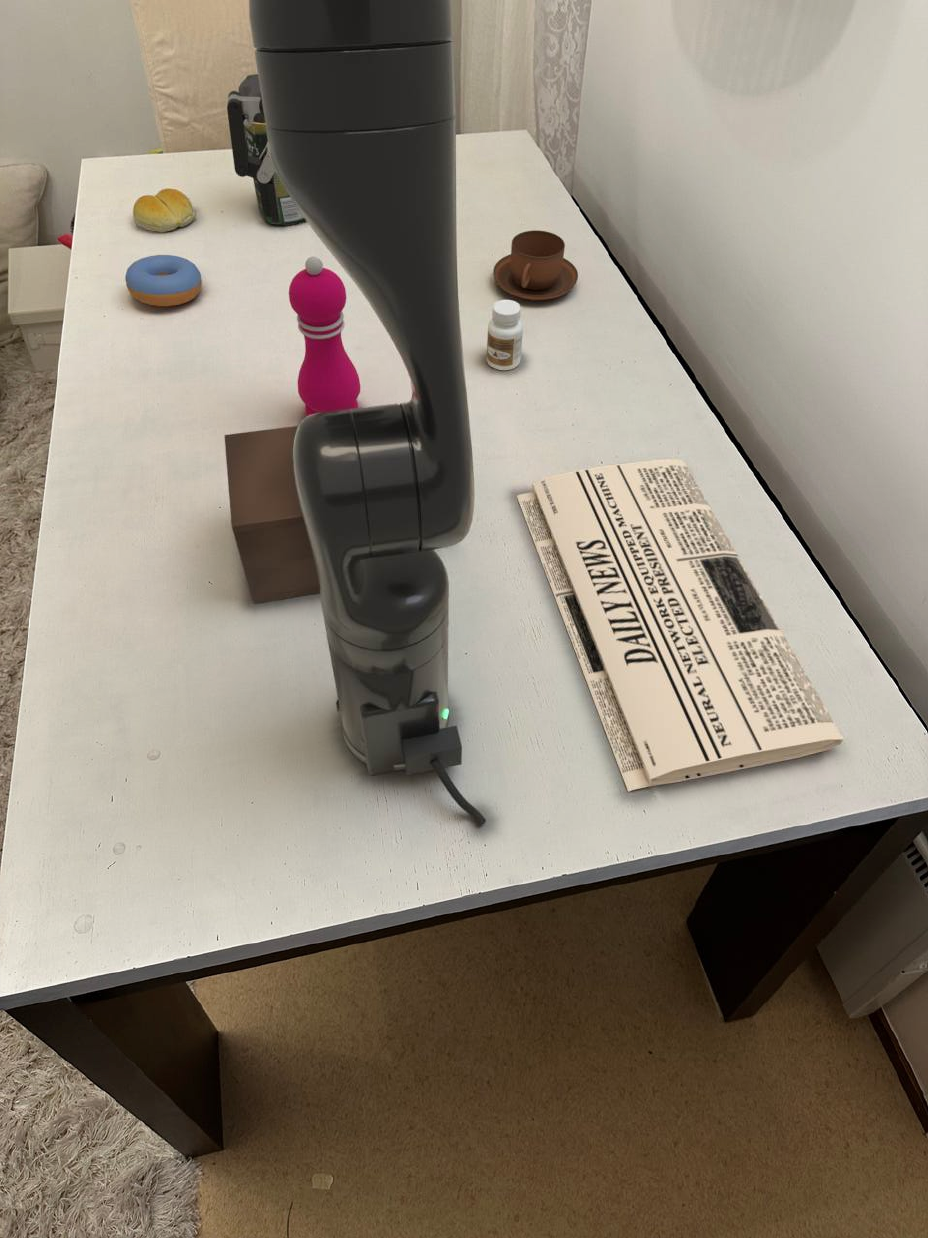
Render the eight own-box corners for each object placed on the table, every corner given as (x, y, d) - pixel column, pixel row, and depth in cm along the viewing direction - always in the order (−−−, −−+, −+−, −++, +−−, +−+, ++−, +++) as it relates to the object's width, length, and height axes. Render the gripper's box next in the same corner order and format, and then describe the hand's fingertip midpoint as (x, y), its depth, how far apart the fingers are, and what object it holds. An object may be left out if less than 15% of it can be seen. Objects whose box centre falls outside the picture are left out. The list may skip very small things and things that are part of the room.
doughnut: (188, 269, 121) (181, 238, 118) (216, 302, 116) (209, 270, 113) (121, 288, 118) (111, 257, 114) (146, 323, 113) (136, 291, 109)
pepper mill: (353, 440, 99) (336, 280, 83) (294, 431, 100) (266, 271, 84) (370, 402, 103) (357, 244, 88) (313, 394, 104) (290, 236, 88)
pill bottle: (480, 365, 108) (482, 310, 102) (495, 347, 111) (498, 293, 105) (511, 375, 107) (515, 320, 101) (525, 357, 110) (530, 303, 104)
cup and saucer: (579, 309, 117) (584, 267, 112) (492, 306, 117) (494, 264, 112) (573, 264, 124) (579, 223, 120) (492, 262, 124) (494, 220, 120)
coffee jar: (253, 202, 134) (230, 70, 120) (302, 195, 136) (285, 64, 122) (266, 230, 129) (244, 96, 114) (316, 223, 131) (301, 89, 116)
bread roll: (127, 217, 131) (120, 191, 128) (182, 202, 134) (176, 176, 131) (148, 239, 127) (141, 213, 123) (204, 223, 130) (198, 197, 127)
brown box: (380, 495, 93) (374, 415, 85) (400, 580, 85) (396, 502, 77) (244, 514, 91) (224, 434, 82) (252, 603, 83) (231, 526, 75)
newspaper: (836, 750, 74) (848, 734, 72) (628, 792, 71) (633, 776, 69) (680, 473, 96) (685, 454, 94) (516, 496, 93) (518, 477, 91)
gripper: (205, 29, 63) (245, 241, 76) (394, 24, 65) (402, 232, 77) (209, -2, 68) (246, 203, 81) (385, -6, 70) (394, 195, 82)
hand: (322, 217), depth 79 cm, fingers open, 8 cm apart
